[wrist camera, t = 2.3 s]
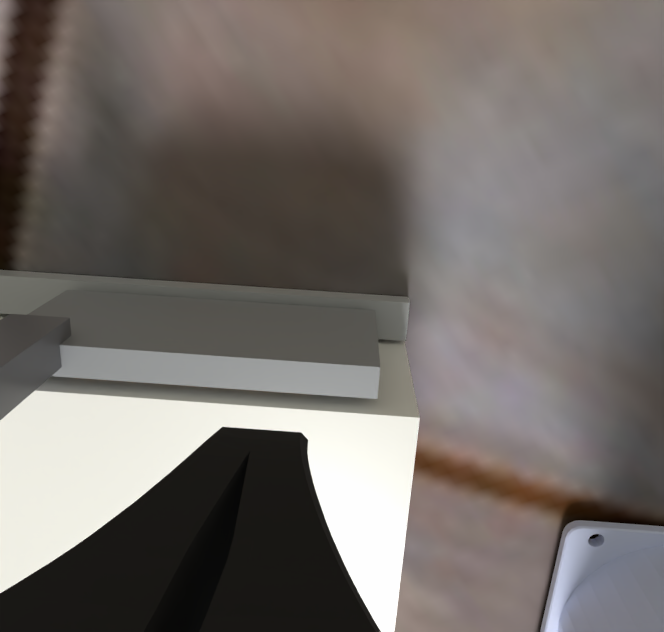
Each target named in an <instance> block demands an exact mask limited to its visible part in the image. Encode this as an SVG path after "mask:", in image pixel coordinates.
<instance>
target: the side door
mask: <svg viewBox="0 0 664 632" xmlns="http://www.w3.org/2000/svg"><path fill="white" fill-rule="evenodd" d="M51 376H56V377H70V378H84V379H99V380H113V381H127V382H141V383H156V384H170V385H184V386H198V387H213V388H227V389H241V390H255V391H270V392H284V393H298V394H312V395H327V396H341V397H355V398H369V399H377V398H378V387H379V376H380V358H379V347H378V335H377V324H376V312H375V310H362V309H347V308H333V307H318V306H303V305H288V304H273V303H258V302H243V301H228V300H213V299H198V298H183V297H169V296H154V295H139V294H124V293H109V292H94V291H79V290H66V291H64V292H63V293H61V294H59V295H58V296H56V297H54V298H53V299H51V300H50V301H48V302H46V303H45V304H43V305H41V306H40V307H38V308H37V309H35V310H33V311H32V312H30V313H29V314H27V315H23V314H9V315H8V316H6V317H4V318H3V319H1V320H0V420H1V419H3V418H4V417H5V416H6V415H7V414H8V413H9V412H11V411H12V410H13V409H14V408H15V407H16V406H18V405H19V404H20V403H21V402H22V401H23V400H24V399H26V398H27V397H28V396H29V395H30V394H31V393H33V392H34V391H35V390H36V389H37V388H38V387H39V386H41V385H42V384H43V383H44V382H45V381H46V380H47V379H49V378H50V377H51Z"/></svg>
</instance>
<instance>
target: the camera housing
mask: <svg viewBox="0 0 664 632" xmlns="http://www.w3.org/2000/svg"><path fill="white" fill-rule="evenodd" d="M66 290H79V291H94V292H109V293H124V294H139V295H154V296H169V297H183V298H198V299H213V300H228V301H243V302H258V303H273V304H288V305H303V306H318V307H333V308H347V309H362V310H375V312H376V324H377V335H378V347H379V358H380V376H379V387H378V398H377V399H369V398H355V397H341V396H327V395H312V394H298V393H284V392H270V391H255V390H241V389H227V388H213V387H198V386H184V385H170V384H156V383H141V382H127V381H113V380H99V379H84V378H70V377H56V376H51V377H50V378H49V379H47V380H46V381H45V382H44V383H43V384H42V385H41V386H39V387H38V388H37V389H36V390H35V391H34V392H33V393H31V394H30V395H29V396H28V397H27V398H26V399H24V400H23V401H22V402H21V403H20V404H19V405H18V406H16V407H15V408H14V409H13V410H12V411H11V412H9V413H8V414H7V415H6V416H5V417H4V418H3V419H1V420H0V593H1V592H3V591H5V590H6V589H8V588H10V587H11V586H13V585H15V584H16V583H18V582H20V581H21V580H23V579H24V578H26V577H28V576H29V575H31V574H32V573H34V572H36V571H37V570H39V569H40V568H42V567H44V566H45V565H47V564H49V563H50V562H52V561H53V560H55V559H56V558H58V557H59V556H61V555H62V554H64V553H65V552H67V551H68V550H70V549H71V548H73V547H74V546H76V545H77V544H79V543H80V542H82V541H83V540H84V539H86V538H87V537H89V536H90V535H91V534H93V533H94V532H95V531H97V530H98V529H99V528H101V527H102V526H103V525H105V524H106V523H107V522H109V521H110V520H111V519H113V518H114V517H115V516H117V515H118V514H119V513H121V512H122V511H123V510H125V509H126V508H127V507H129V506H130V505H131V504H133V503H134V502H135V501H136V500H138V499H139V498H140V497H141V496H142V495H144V494H145V493H146V492H147V491H148V490H150V489H151V488H152V487H153V486H154V485H156V484H157V483H158V482H159V481H160V480H162V479H163V478H164V477H165V476H166V475H168V474H169V473H170V472H171V471H172V470H173V469H175V468H176V467H177V466H178V465H179V464H180V463H181V462H182V461H184V460H185V459H186V458H187V457H188V456H189V455H190V454H192V453H193V452H194V451H195V450H196V449H197V448H198V447H199V446H200V445H202V444H203V443H204V442H205V441H206V440H207V439H208V438H210V437H211V436H212V435H213V434H214V433H216V432H217V431H218V430H219V429H220V428H222V427H233V428H247V429H261V430H275V431H289V432H301V433H302V434H303V435H304V436H305V437H306V438H307V439H308V452H307V454H308V461H309V467H310V471H311V475H312V480H313V484H314V487H315V490H316V494H317V497H318V500H319V502H320V505H321V508H322V511H323V514H324V517H325V520H326V522H327V525H328V527H329V530H330V532H331V535H332V537H333V540H334V542H335V544H336V547H337V549H338V551H339V553H340V555H341V558H342V560H343V562H344V564H345V566H346V568H347V571H348V573H349V575H350V577H351V579H352V581H353V583H354V585H355V587H356V588H357V590H358V592H359V594H360V596H361V598H362V600H363V601H364V603H365V605H366V607H367V609H368V610H369V612H370V614H371V616H372V617H373V619H374V621H375V623H376V624H377V626H378V628H379V629H380V631H381V632H394V630H395V621H396V613H397V605H398V596H399V588H400V579H401V571H402V563H403V554H404V546H405V538H406V529H407V521H408V512H409V504H410V496H411V487H412V479H413V471H414V462H415V454H416V446H417V437H418V429H419V420H420V416H419V411H418V406H417V401H416V396H415V391H414V386H413V381H412V376H411V371H410V367H409V362H408V357H407V352H406V347H405V342H404V341H406V335H407V325H408V316H409V306H410V302H409V298H408V297H404V296H389V295H374V294H359V293H344V292H329V291H314V290H299V289H284V288H269V287H254V286H239V285H224V284H209V283H193V282H178V281H163V280H148V279H133V278H118V277H103V276H88V275H73V274H58V273H43V272H28V271H13V270H0V320H1V319H3V318H4V317H6V316H8V315H9V314H23V315H27V314H29V313H30V312H32V311H33V310H35V309H37V308H38V307H40V306H41V305H43V304H45V303H46V302H48V301H50V300H51V299H53V298H54V297H56V296H58V295H59V294H61V293H63V292H64V291H66Z"/></svg>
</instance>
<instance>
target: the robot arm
mask: <svg viewBox="0 0 664 632" xmlns="http://www.w3.org/2000/svg"><path fill="white" fill-rule="evenodd" d="M307 452H308V439H307V438H306V437H305V436H304V435H303V434H302V433H301V432H289V431H275V430H261V429H247V428H233V427H222V428H220V429H219V430H218V431H217V432H216V433H214V434H213V435H212V436H211V437H210V438H208V439H207V440H206V441H205V442H204V443H203V444H202V445H200V446H199V447H198V448H197V449H196V450H195V451H194V452H193V453H192V454H190V455H189V456H188V457H187V458H186V459H185V460H184V461H182V462H181V463H180V464H179V465H178V466H177V467H176V468H175V469H173V470H172V471H171V472H170V473H169V474H168V475H166V476H165V477H164V478H163V479H162V480H160V481H159V482H158V483H157V484H156V485H154V486H153V487H152V488H151V489H150V490H148V491H147V492H146V493H145V494H144V495H142V496H141V497H140V498H139V499H138V500H136V501H135V502H134V503H133V504H131V505H130V506H129V507H127V508H126V509H125V510H123V511H122V512H121V513H119V514H118V515H117V516H115V517H114V518H113V519H111V520H110V521H109V522H107V523H106V524H105V525H103V526H102V527H101V528H99V529H98V530H97V531H95V532H94V533H93V534H91V535H90V536H89V537H87V538H86V539H84V540H83V541H82V542H80V543H79V544H77V545H76V546H74V547H73V548H71V549H70V550H68V551H67V552H65V553H64V554H62V555H61V556H59V557H58V558H56V559H55V560H53V561H52V562H50V563H49V564H47V565H45V566H44V567H42V568H40V569H39V570H37V571H36V572H34V573H32V574H31V575H29V576H28V577H26V578H24V579H23V580H21V581H20V582H18V583H16V584H15V585H13V586H11V587H10V588H8V589H6V590H5V591H3V592H1V593H0V632H381V631H380V629H379V628H378V626H377V624H376V623H375V621H374V619H373V617H372V616H371V614H370V612H369V610H368V609H367V607H366V605H365V603H364V601H363V600H362V598H361V596H360V594H359V592H358V590H357V588H356V587H355V585H354V583H353V581H352V579H351V577H350V575H349V573H348V571H347V568H346V566H345V564H344V562H343V560H342V558H341V555H340V553H339V551H338V549H337V547H336V544H335V542H334V540H333V537H332V535H331V532H330V530H329V527H328V525H327V522H326V520H325V517H324V514H323V511H322V508H321V505H320V502H319V500H318V497H317V494H316V490H315V487H314V484H313V480H312V475H311V471H310V467H309V461H308V454H307ZM594 534H599V535H598V537H596V538H594V539H589V538H590V536H592V535H594ZM540 632H664V526H652V525H639V524H625V523H612V522H598V521H585V520H577V521H573V522H570V523H568V524H567V525H566V526H565V528H564V530H563V532H562V537H561V541H560V546H559V550H558V554H557V559H556V563H555V568H554V572H553V577H552V581H551V586H550V590H549V594H548V599H547V603H546V608H545V612H544V617H543V621H542V625H541V630H540Z"/></svg>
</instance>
